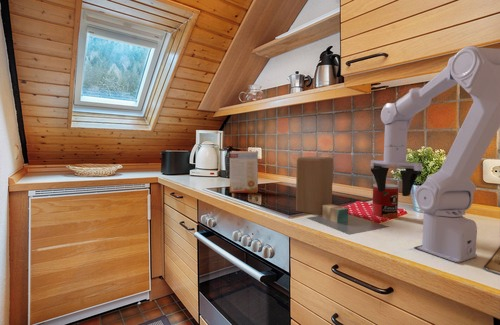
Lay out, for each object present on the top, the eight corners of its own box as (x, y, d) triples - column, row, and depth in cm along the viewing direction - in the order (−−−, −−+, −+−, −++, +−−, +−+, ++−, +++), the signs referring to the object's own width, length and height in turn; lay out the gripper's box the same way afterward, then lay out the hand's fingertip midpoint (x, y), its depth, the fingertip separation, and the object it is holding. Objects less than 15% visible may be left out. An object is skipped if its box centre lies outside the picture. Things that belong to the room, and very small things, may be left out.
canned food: (383, 220, 88) (385, 187, 87) (366, 214, 95) (367, 183, 94) (402, 219, 90) (404, 186, 89) (384, 213, 97) (385, 183, 97)
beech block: (348, 208, 83) (332, 204, 89) (338, 210, 81) (322, 205, 88) (347, 221, 84) (331, 216, 90) (338, 223, 82) (322, 217, 88)
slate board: (389, 229, 79) (389, 226, 79) (349, 237, 72) (349, 234, 71) (342, 214, 95) (342, 212, 95) (306, 220, 88) (306, 217, 88)
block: (307, 208, 105) (308, 156, 104) (332, 212, 99) (334, 157, 97) (294, 212, 97) (295, 157, 96) (320, 217, 91) (322, 158, 90)
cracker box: (257, 191, 142) (258, 151, 140) (256, 193, 136) (257, 151, 134) (231, 190, 143) (231, 151, 142) (229, 192, 137) (229, 151, 136)
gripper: (430, 146, 73) (427, 196, 74) (382, 146, 86) (380, 188, 87) (413, 146, 70) (411, 198, 71) (366, 146, 82) (365, 190, 83)
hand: (393, 193), depth 78 cm, fingers open, 7 cm apart
